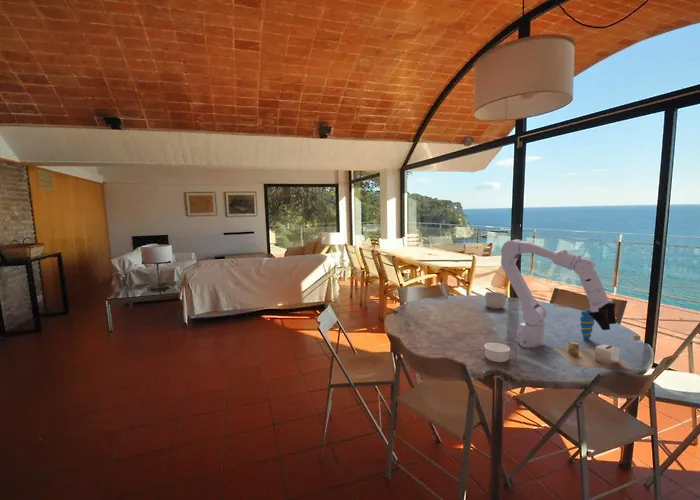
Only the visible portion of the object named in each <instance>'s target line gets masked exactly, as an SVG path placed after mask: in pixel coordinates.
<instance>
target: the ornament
mask: <svg viewBox="0 0 700 500" xmlns="http://www.w3.org/2000/svg"><path fill="white" fill-rule="evenodd" d="M589 311H591V309H590V308H587V309H584V310H582V311H581V313H580V314H581V315H580V317H579V320H580V329H581V331H580V332H581V334H582V338H583V340H586V341H589V339H591V337H592V336H591V335H592V331H593V326H594V324H595V321H596V320H595V319H594V318H593V317H591V316H590V315H589V313H588V312H589Z"/></svg>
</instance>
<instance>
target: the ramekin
mask: <svg viewBox="0 0 700 500" xmlns="http://www.w3.org/2000/svg"><path fill="white" fill-rule="evenodd" d="M483 347H484V354H485V358H486V359H487V360H489V361H491V362H495V363H505V362H507V361H508V360H509V358H510V357H509V356H510V351H511V347H509V346H508V345H507V344H503V343H499V342H487V343H485V344H484V346H483Z"/></svg>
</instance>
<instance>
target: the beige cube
mask: <svg viewBox="0 0 700 500" xmlns="http://www.w3.org/2000/svg"><path fill="white" fill-rule="evenodd" d="M594 349H595V361H598V362H601V363H604V364H607V365H609V366H611V365H614V364H617V363H619V360H620V351H621V349H620V348H619V347H614V346H612V345H608V344H605V343H603V344H600V345H596V346H595V347H594Z"/></svg>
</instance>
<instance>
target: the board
mask: <svg viewBox="0 0 700 500" xmlns="http://www.w3.org/2000/svg"><path fill="white" fill-rule="evenodd" d="M553 349H554V350H555V351H556V352H557V353H559V355H561V356H562V357H563V358H564V359H565V360H566V361H567V363H569V364H570V365H571V366H572V367H584V368H585V367H587V368H588V367H591V368H607V369H608V368H609V369H624V370H625V369H626V370H627V369H628V370H632V368H631V367H630V366H628V365H627V364H625V363H624V362H622V361H621V360H620V359H619V363H617V364H614V365H611V366H609V365H607V364H604V363H601V362H598V361H595V348H580V344H579V343H578V342H576V341H568V347H553Z"/></svg>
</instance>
